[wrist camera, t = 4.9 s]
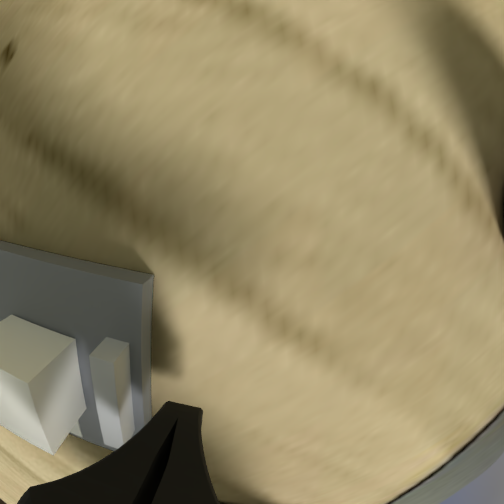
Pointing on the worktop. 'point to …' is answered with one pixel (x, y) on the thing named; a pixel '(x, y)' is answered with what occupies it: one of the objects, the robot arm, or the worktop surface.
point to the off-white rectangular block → (39, 383)
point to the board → (90, 332)
